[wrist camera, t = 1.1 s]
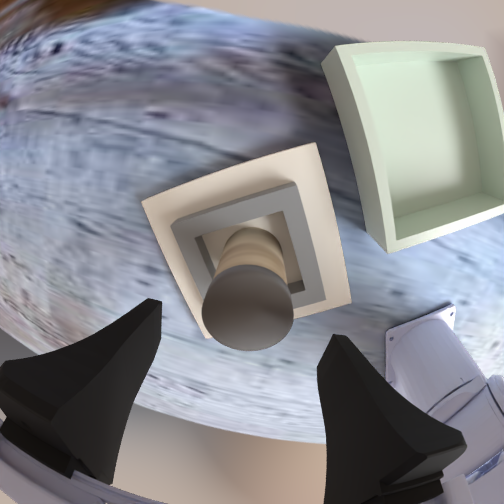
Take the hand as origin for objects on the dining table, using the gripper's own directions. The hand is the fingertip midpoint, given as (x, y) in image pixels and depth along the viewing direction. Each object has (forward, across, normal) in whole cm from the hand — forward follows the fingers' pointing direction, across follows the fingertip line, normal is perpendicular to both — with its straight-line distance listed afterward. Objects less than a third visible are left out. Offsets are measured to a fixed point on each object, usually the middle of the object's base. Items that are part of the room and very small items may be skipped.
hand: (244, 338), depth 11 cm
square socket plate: (+10, 0, 0) cm, 10 cm away
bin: (+10, -10, -12) cm, 18 cm away
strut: (+8, 0, 0) cm, 8 cm away
